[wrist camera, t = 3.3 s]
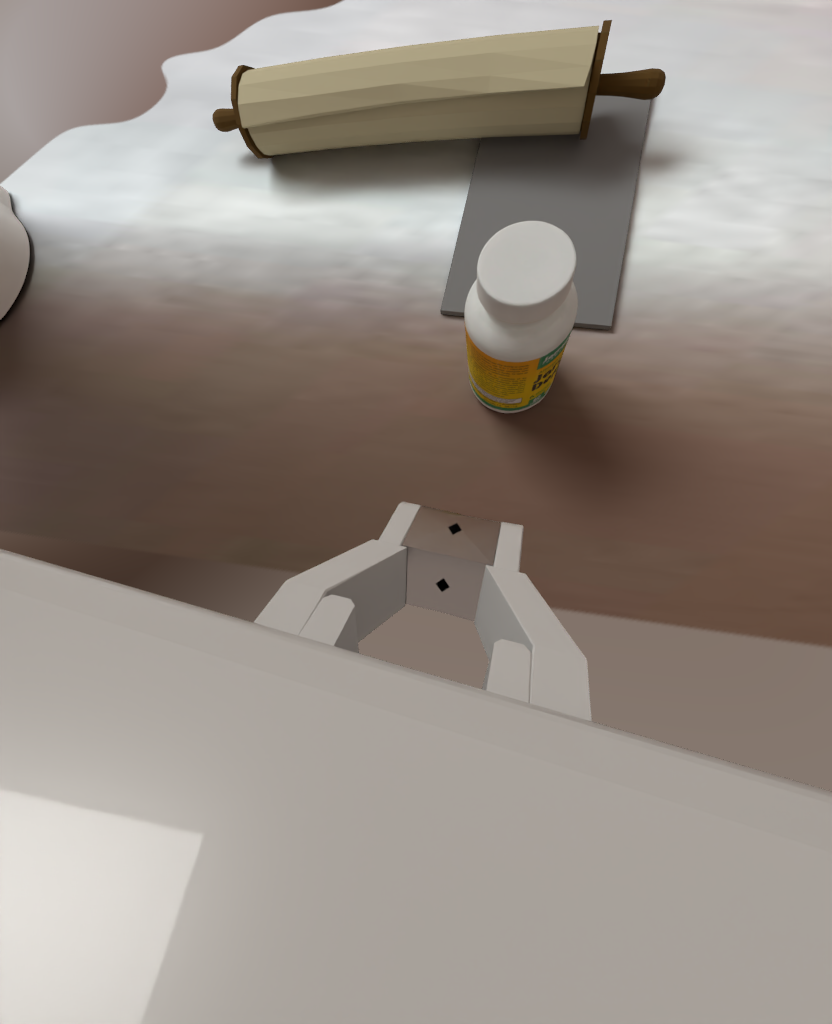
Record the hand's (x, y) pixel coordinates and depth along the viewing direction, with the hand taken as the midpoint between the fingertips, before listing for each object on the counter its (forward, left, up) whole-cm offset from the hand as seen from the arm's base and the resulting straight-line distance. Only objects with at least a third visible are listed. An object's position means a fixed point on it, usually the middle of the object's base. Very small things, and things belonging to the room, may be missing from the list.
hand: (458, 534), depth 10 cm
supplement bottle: (0, +12, -15) cm, 19 cm away
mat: (0, +25, -14) cm, 29 cm away
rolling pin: (-11, +30, -14) cm, 35 cm away
